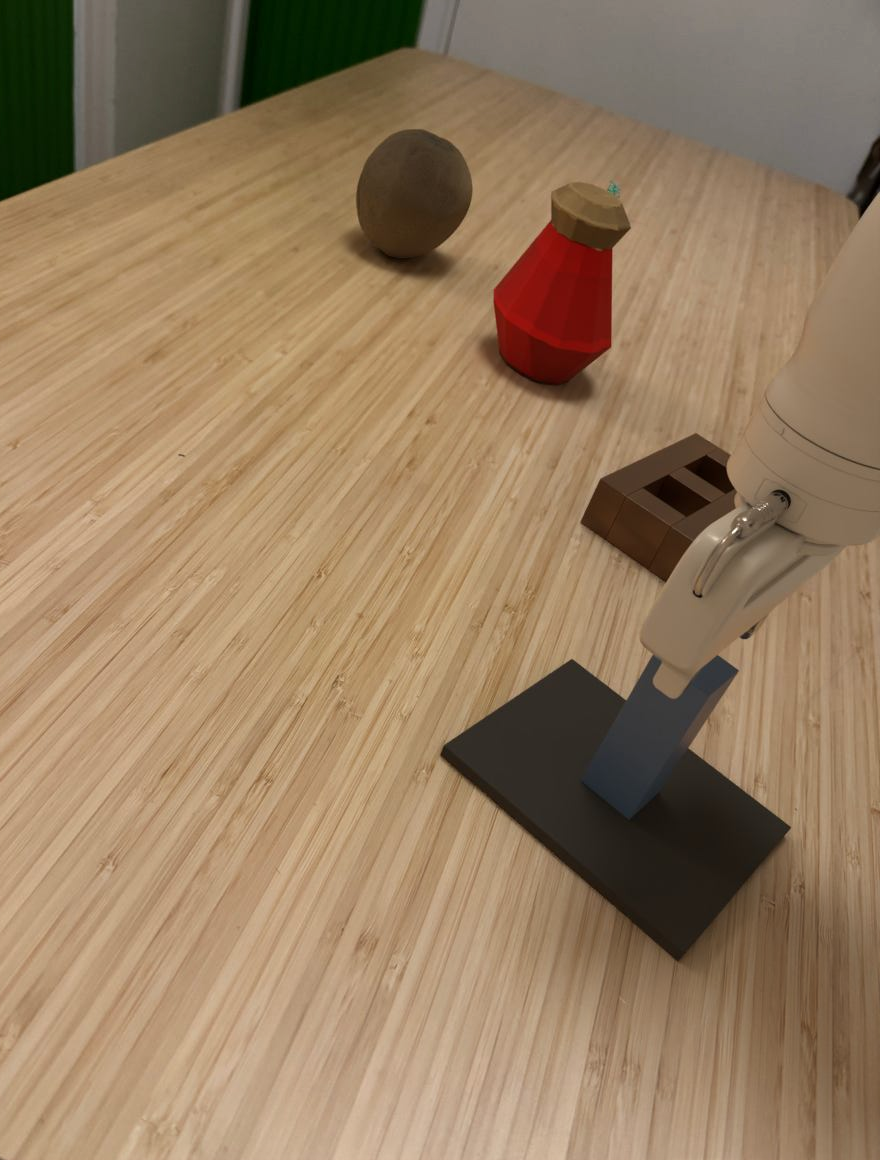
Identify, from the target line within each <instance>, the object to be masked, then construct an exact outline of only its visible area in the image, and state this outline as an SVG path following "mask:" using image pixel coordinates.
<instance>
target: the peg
mask: <svg viewBox="0 0 880 1160" xmlns="http://www.w3.org/2000/svg"><path fill="white" fill-rule="evenodd" d="M661 663H662V660H660V659H659V658H658V657H656V656H655V655H654V654H652V655H651V656H650V658H649V660H648V662H647V664H646V665H645V667H644V669H643V671H642V672H641V674H640V676H639V678H638V679H637V680H636V683H635V685H634V686H633V688H632V690H631V692H630V694H629V695H628V697H627V699H625V700H626V702H625V704H624V705H623V707H622V709H621V711H620V712H619V714H618V716H617V718H616V719H615V721H614V723H613V725H612V726H611V728H610V730H609V731H608V733H607V735H606V737H605V738H604V740H603V742H602V744H601V745H600V747H599V749H598V751H597V752H596V754H595V756H594V758H593V759H592V761H591V763H590V764H589V766H588V768H587V770H586V771H585V773H584V775H583V777H582V778H581V781H582V782H583V783H584V784H586V785H587V786H588V787H589V788H590V789H592V790H593V791H594V792H595V793H597V794H598V795H599V796H600V797H601V798H603V799H604V800H605V801H606V802H607V803H609V804H610V805H611V806H612V807H614V808H615V809H616V810H617V811H618V812H620V813H621V814H622V815H623V816H624V817H626V818H627V819H628V820H630V819H631V818H632V817H633V816H634V815H635V814H636V813H637V812H638V811H639V810H641V809H642V808H643V807H644V806H645V805H646V804H647V803H648V802H649V801H650V800H651V799H652V798H653V797H655V796H656V795H657V794H658V793H659V792H660V790H661V789H662V787H663V786H664V784H665V783H666V781H667V780H668V778H669V777H670V775H671V774H672V772H673V770H674V769H675V767H676V766H677V764H678V763H679V761H680V760H681V758H682V757H683V755H684V754H685V752H686V751H687V749H688V748H689V749H690V747H691V745H692V743H693V742H694V740H695V739H696V737H697V736H698V734H699V733H700V731H701V730H702V728H703V726H704V725H705V723H706V722H707V721H708V719H709V717H710V716H711V714H712V713H713V711H714V710H715V708H716V707H717V706H718V704H719V702H720V701H721V699H722V698H723V697H724V695H725V693H726V691H727V690H728V689H729V687H730V686H731V684H732V683H733V681H734V680H735V678H736V677H737V675H738V673H739V672H740V670H739V669H738V667H735V666H734V665H733V664H731V663H730V662H728V661H727V660H725V659H724V658H723V657H721V656H720V655H719V654H718V655H717V656H716V657H714V658H713V659H712V660H711V661H710V662H708V663H707V664H706V665H705V666H703V667H702V668H701V669H700V670H699V673H698V674H697V676H696V678H695V679H694V680H693V682H692V684H691V686H690V687H689V688H688V689H687V690H686V691H685V692H684V693H683V694H682V695H680V696H679V697H678V698H676V699H671V698H669V697H668V696H666V695H665V694H664V693H662V692H661V691H660V690H658V689H657V688H656V687H655V686H654V684H653V678H654V676H655V674H656V672H657V671H658V669H659V667H660V665H661Z"/></svg>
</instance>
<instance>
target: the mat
mask: <svg viewBox="0 0 880 1160" xmlns="http://www.w3.org/2000/svg"><path fill="white" fill-rule="evenodd" d="M626 700H627V699H625V698H624V697H622V696H621V695H620V694H619V693H618V692H616V691H615V690H613V689H612V688H611V687H610V686H609V685H607V684H606V683H604V681H602V680H601V679H599V678H598V677H597V676H596V675H595V674H593V673H592V672H590V671H589V670H588V669H586V668H585V667H584V666H583V665H581V664H580V663H578V662H577V661H576V660H575V659H573V658H571V659H569V660H567V661H566V662H565V663H563V664H562V665H560V666H559V667H557V668H555V670H553V671H551V672H550V673H548V674H547V675H546V676H544V677H542V678H541V679H539V680H537V682H535V683H534V684H533V685H531V686H529V687H527V688H526V689H525V690H523V691H522V692H520V693H519V694H517V695H516V696H514V697H513V698H512V699H510V700H509V701H506V703H504V704H502V705H501V706H500V707H498V708H497V709H495V710H493V711H492V712H491V713H489V714H488V715H486V716H485V717H483V718H482V719H480V720H479V721H477V722H476V723H475V724H473V725H471V726H470V727H469V728H466V729H465V730H464V731H463V732H461V733H460V734H458V735H457V736H455V737H454V738H452V739H450V740H449V741H447V742H446V743H444V745H443V746H442V749H441V750H440V753H439V754H440V756H441V757H443V759H444V760H446V761H447V762H448V763H449V764H450V765H452V766H453V767H454V768H455V769H456V770H457V771H459V772H460V773H461V774H462V775H463V776H464V777H465V778H466V779H468V780H469V781H470V782H471V783H472V784H473V785H475V786H476V787H477V788H478V789H479V790H480V791H482V793H484V794H485V795H486V796H487V797H488V798H490V799H491V800H492V801H493V802H494V803H495V804H497V806H499V807H500V808H501V809H502V810H503V811H505V813H506V814H508V815H509V816H510V817H511V818H513V819H514V820H515V821H516V822H517V823H518V824H520V825H521V826H522V827H523V828H524V829H525V830H526V831H527V832H529V833H530V834H531V835H532V836H534V837H535V838H536V839H537V840H538V841H539V842H540V843H541V844H543V845H544V846H545V847H546V848H547V850H549V851H551V853H553V854H554V855H555V856H556V857H557V858H559V860H561V861H562V862H563V863H564V864H566V865H567V867H569V868H570V869H571V870H573V871H574V872H575V873H576V874H577V875H578V876H579V877H580V878H582V879H583V880H584V881H585V882H586V883H587V884H588V885H589V886H591V888H593V889H594V890H595V891H597V892H598V893H599V894H600V895H601V896H602V897H603V898H605V899H606V900H607V901H608V902H609V903H610V904H612V905H613V906H614V907H615V908H616V909H617V910H619V911H620V912H621V913H622V914H623V915H624V916H626V917H627V918H628V919H629V920H630V921H631V922H632V923H633V924H634V925H636V926H637V927H638V928H639V929H641V931H642V932H644V933H645V934H646V935H647V936H648V937H650V938H651V939H652V940H653V941H654V942H655V943H657V944H658V945H659V946H660V947H661V948H662V949H663V950H664V951H666V952H667V953H668V954H669V955H670V956H671V957H672V958H674V959H675V960H676V961H677V962H679V961H681V959H682V958H683V957H684V956H685V955H686V954H687V953H688V951H689V950H690V949H691V948H692V947H693V945H694V944H695V943H696V942H697V940H698V939H700V937H701V935H703V933H705V931H706V930H707V929H708V927H709V926H710V925H711V924H712V923H713V922H714V920H716V918H717V917H718V915H719V914H720V913H721V912H722V911H723V910H724V908H725V907H726V906H727V905H728V904H729V903H730V902H731V901H732V899H733V898H734V897H735V895H736V894H737V893H738V892H739V891H740V890H741V888H742V887H743V886H744V885H745V884H746V882H748V880H749V879H750V878H751V876H752V875H753V874H754V873H755V872H756V870H758V869H759V867H760V866H761V865H762V863H764V861H765V860H766V859H767V858H768V856H769V855H770V854H771V853H772V851H774V849H776V847H777V846H778V845H779V843H780V842H781V841H782V840H783V839H784V837H786V835H787V834H788V832H789V831H790V830H791V829H792V826H790V825H789V824H788V823H787V822H785V821H784V820H782V818H781V817H779V816H777V815H776V814H775V813H774V812H773V811H771V810H770V809H768V808H767V807H766V806H765V805H763V804H762V803H760V802H759V801H758V800H757V799H755V798H754V797H753V796H751V795H750V794H749V793H747V792H746V791H745V790H744V789H743V788H741V787H740V786H739V785H737V784H736V783H734V782H733V781H732V780H731V779H729V778H728V777H727V776H726V775H724V774H723V773H722V772H720V771H719V770H717V769H716V768H715V767H714V766H712V765H711V764H710V763H709V762H707V761H706V760H705V759H703V758H702V757H701V756H700V755H698V754H697V753H696V752H694V751H693V750H691V749H690V747H689V748H688V749H687V751H686V752H685V754H684V755H683V757H682V758H681V760H680V761H679V763H678V764H677V766H676V767H675V769H674V770H673V772H672V774H671V775H670V777H669V778H668V780H667V781H666V783H665V784H664V786H663V787H662V789H661V790H660V792H659V793H658V794H657V795H656V796H655V797H653V798H652V799H651V800H650V801H649V802H648V803H647V804H646V805H645V806H644V807H643V808H642V809H641V810H639V811H638V812H637V813H636V814H635V815H634V816H633V817H632V818H631V819H630V820H628V819H627V818H626V817H624V816H623V815H622V814H621V813H620V812H618V811H617V810H616V809H615V808H614V807H612V806H611V805H610V804H609V803H607V802H606V801H605V800H604V799H603V798H601V797H600V796H599V795H598V794H597V793H595V792H594V791H593V790H592V789H590V788H589V787H588V786H587V785H586V784H584V783H583V782H582V781H581V778H582V777H583V775H584V773H585V771H586V770H587V768H588V766H589V764H590V763H591V761H592V759H593V758H594V756H595V754H596V752H597V751H598V749H599V747H600V745H601V744H602V742H603V740H604V738H605V737H606V735H607V733H608V731H609V730H610V728H611V726H612V725H613V723H614V721H615V719H616V718H617V716H618V714H619V712H620V711H621V709H622V707H623V705H624V704H625V702H626Z"/></svg>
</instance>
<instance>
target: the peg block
mask: <svg viewBox="0 0 880 1160" xmlns="http://www.w3.org/2000/svg"><path fill="white" fill-rule="evenodd" d="M730 455H731V453H729V452H727V451H726V450H724V449H722V448H721V447H719V446H718V445H716V444H714V443H713V442H711V441H709V439H706V438H705V437H704V436H702V435H700V434H698V433H697V432H695V433H693V434H691V435H688V436H687V437H684V438H682V439H680V440H678V441H676V442H674V443H672V444H670V445H668V446H665V447H663V448H661V449H659V450H657V451H655V452H653V453H651V454H649V455H647V456H645V457H642V458H641V459H639V460H637V461H634V462H632V463H630V464H628V465H626V466H624V467H621V468H620V469H617V470H616V471H613V472H611V473H609V474H607V475H604V476H602V477H601V478H600V479H599V480H598V483H597V485H596V486H595V488H594V491H593V494H592V496H591V498H590V499H589V501H588V504H587V506H586V508H585V511H584V513H583V515H582V517H581V520H580V523H581V524H582V525H584V526H585V527H587V528H588V529H589V530H591V531H592V532H594V533H595V534H596V535H598V536H599V537H601V538H602V539H604V540H606V541H607V542H608V543H610V544H611V545H613V546H614V547H616V548H617V549H619V550H620V551H621V552H623V553H624V554H626V555H627V556H629V557H630V558H631V559H633V560H634V561H636V562H637V563H639V564H640V565H641V566H643V567H644V568H646V569H647V570H648V571H650V572H651V573H653V574H654V575H655V576H657V577H658V578H660V579H661V580H663V581H664V582H665V583H666V582H667V580H668V579H669V577H670V575H671V574H672V572H673V570H674V569H675V567H676V566H677V564H678V563H679V561H680V559H681V558H682V556H683V555H684V553H685V552H686V551H687V549H688V548H689V546H690V545H691V544H692V542H693V541H694V540H695V539H696V538H697V537H698V535H699V534H700V533H701V532H702V531H703V530H704V529H705V528H707V527H708V526H709V525H710V524H712V523H714V522H715V521H717V520H718V519H720V518H721V517H723V516H725V515H726V514H728V513H729V512H731V511H733V510H734V509H736V507H735V503H734V498H735V495H736V493H737V491H736V489H735V488H734V487H733V485H732V483H731V482H730V479H729V477H728V474H727V462H728V459H729V457H730Z"/></svg>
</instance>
